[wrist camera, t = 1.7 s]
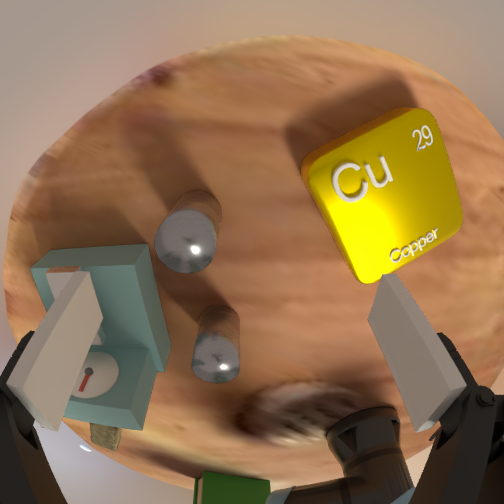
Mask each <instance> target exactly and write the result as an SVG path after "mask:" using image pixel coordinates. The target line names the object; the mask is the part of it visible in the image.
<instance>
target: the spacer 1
mask: <svg viewBox="0 0 504 504" xmlns="http://www.w3.org/2000/svg"><path fill="white" fill-rule="evenodd" d="M221 218H222V210H221V206H220V204H219V202H218V201H217V199H216V198H215V197H214V196H212V195H211V194H209V193H207V192H205V191H200V190H195V191H190V192H187V193H185V194H184V195H183V196H181V197H180V198H179V200H178V201H177V203H176V204H175V205H174V207H173V208H172V210H171V211H170V213H169V214H168V215H167V217H166V218H165V220H164V221H163V223H162V224H161V226H160V227H159V229H158V230H157V232H156V235H155V240H154V245H155V250H156V253H157V255H158V257H159V259H160V260H161V261H162V263H163V264H164V265H166V266H167V267H168V268H170V269H172V270H174V271H176V272H180V273H194V272H198V271H200V270H202V269H204V268H205V267H206V266H208V265H209V263H210V262H211V261H212V259H213V257H214V254H215V249H216V244H217V239H218V234H219V228H220V223H221Z"/></svg>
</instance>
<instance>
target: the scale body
mask: <svg viewBox="0 0 504 504" xmlns="http://www.w3.org/2000/svg"><path fill="white" fill-rule="evenodd" d="M70 266H81V268H82V271H88V272H90V276H91V280H92V283H93V287H94V290H95V293H96V297H97V300H98V303H99V306H100V309H101V313H102V316H103V320H102V322H101V326H102V329H103V331H104V334H105V337H106V340H105V342H104V344H103V345H91V346H90V349H89V351H88V353H87V356H86V358H85V360H84V363H83V365H82V368H81V370H80V373H79V375H78V378H77V380H76V383H75V385H74V388H73V390H72V393H71V396H70V398H69V401H68V404H67V406H66V409H65V412H64V415H63V417H66V418H70V419H75V420H79V421H84V422H89V423H95V424H100V425H106V426H112V427H118V428H125V429H133V430H141V431H142V430H143V425H144V421H145V417H146V413H147V409H148V405H149V401H150V397H151V393H152V389H153V385H154V382H155V378H156V374H157V372H165V369H166V365H167V361H168V357H169V353H170V349H171V342H170V338H169V334H168V331H167V327H166V323H165V319H164V315H163V311H162V307H161V302H160V298H159V294H158V289H157V285H156V280H155V276H154V271H153V266H152V262H151V257H150V251H149V246H148V243H147V244H131V245H115V246H100V247H85V248H70V249H56V250H50V251H49V252H48V253H46V254H45V255H44V256H43V257H42V258H41V259H40V260H39V261H38V262H37V263H36V264H34V265H33V266H32V267H31V268H30V270H31V273H32V276H33V278H34V281H35V284H36V286H37V289H38V292H39V294H40V297H41V299H42V302H43V304H44V307H45V309H46V311H47V312H48V310H49V309H50V307H51V306H52V304H53V303H54V301H55V299H54V296H53V294H52V291H51V288H50V286H49V283H48V280H47V277H46V274H45V272H46V271H47V270H48V269H49V268H50V267H70Z"/></svg>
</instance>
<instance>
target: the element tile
mask: <svg viewBox="0 0 504 504" xmlns="http://www.w3.org/2000/svg"><path fill="white" fill-rule="evenodd" d="M300 170H301V177H302V180H303V181H304V183H305V185H306V187H307V189H308V191H309V192H310V194H311V196H312V198H313V200H314V202H315V204H316V205H317V207H318V209H319V211H320V213H321V215H322V217H323V219H324V221H325V223H326V225H327V227H328V229H329V231H330V232H331V234H332V236H333V238H334V240H335V242H336V244H337V246H338V248H339V251H340V253H341V255H342V257H343V259H344V261H345V262H346V264H347V266H348V267H349V269H350V271H351V272H352V274H353V275H354V277H355V278H356V280H358V281H359V282H361V283H363V284H371V283H375V282H377V281H379V280H380V279H381V276H382V274H391V273H393V272H395V271H396V270H398V269H400V268H402V267H403V266H405V265H407V264H408V263H410V262H412V261H413V260H415V259H417V258H418V257H420V256H421V255H423V254H425V253H426V252H428V251H430V250H431V249H433V248H434V247H436V246H438V245H439V244H441V243H442V242H444V241H445V240H447V239H448V238H450V237H452V236H453V235H454V234H455V233H456V232H457V231H458V230H459V229H460V227H461V225H462V222H463V210H462V205H461V201H460V197H459V193H458V189H457V185H456V181H455V177H454V174H453V170H452V166H451V163H450V160H449V156H448V153H447V150H446V147H445V144H444V141H443V138H442V135H441V132H440V129H439V127H438V124H437V121H436V119H435V118H434V116H433V115H432V114H431V113H430V112H429V111H427V110H426V109H424V108H408V107H400V108H396V109H394V110H392V111H390V112H388V113H386V114H383V115H381V116H379V117H377V118H375V119H373V120H371V121H369V122H367V123H365V124H363V125H361V126H359V127H357V128H355V129H353V130H351V131H349V132H348V133H346V134H344V135H342V136H340V137H338V138H336V139H334V140H332V141H330V142H328V143H326V144H325V145H323V146H321V147H319V148H317V149H315V150H313V151H312V152H310V153H309V154H308V155H306V157H305V158H304V159H303V161H302V163H301V167H300Z"/></svg>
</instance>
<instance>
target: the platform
mask: <svg viewBox="0 0 504 504" xmlns="http://www.w3.org/2000/svg"><path fill="white" fill-rule="evenodd" d="M75 271H82V268H81V266H70V267H50V268H49V269H48V270H47V271H46V272H45V274H46V277H47V280H48V283H49V286H50V288H51V291H52V294H53V296H54V299H55V300H56V298H57V297H58V295H59V294H60V292H61V291H62V289H63V288H64V286H65V285H66V284H67V282H68V281H69V279H70V278H71V277H72V275H73V274H74V272H75ZM105 340H106V337H105V334H104V331H103V329H102V326H101V324H100V326H99V329H98V331H97V333H96V335H95V337H94V340H93V342H92V344H91V345H103V344H104V342H105Z"/></svg>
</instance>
